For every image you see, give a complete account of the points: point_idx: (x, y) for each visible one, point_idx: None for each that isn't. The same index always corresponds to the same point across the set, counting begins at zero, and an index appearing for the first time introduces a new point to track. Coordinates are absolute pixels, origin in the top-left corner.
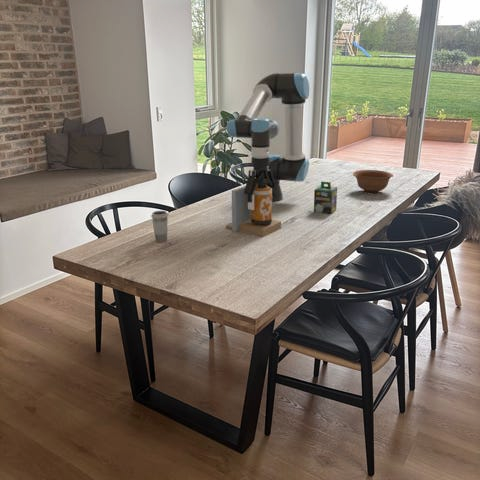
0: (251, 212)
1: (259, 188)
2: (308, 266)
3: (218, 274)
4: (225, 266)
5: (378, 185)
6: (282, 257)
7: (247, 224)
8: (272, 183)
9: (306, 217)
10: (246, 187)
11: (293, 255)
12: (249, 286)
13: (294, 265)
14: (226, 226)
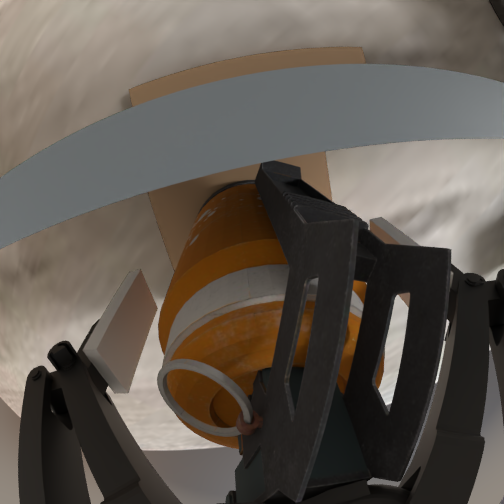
0: (192, 228)
1: (203, 432)
2: (163, 442)
3: (10, 368)
4: (21, 358)
5: None
6: (141, 407)
7: (174, 204)
8: (490, 326)
9: (473, 232)
10: (31, 420)
11: (171, 414)
12: None
13: (142, 430)
14: (131, 93)
